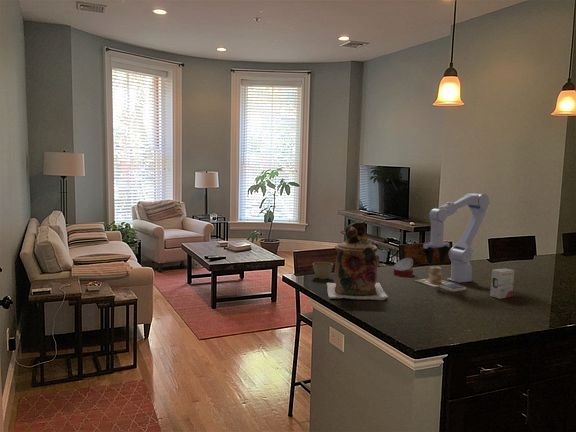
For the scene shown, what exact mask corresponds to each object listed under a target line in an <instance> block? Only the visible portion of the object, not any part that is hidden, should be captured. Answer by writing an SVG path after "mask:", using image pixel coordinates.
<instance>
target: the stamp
mask: <svg viewBox="0 0 576 432" xmlns="http://www.w3.org/2000/svg"><path fill="white" fill-rule="evenodd" d="M427 279H428V281H429V282H430V283H442V280H443V279H442V268H441V267H440V266H434V265H433V266H429V267H428V278H427Z"/></svg>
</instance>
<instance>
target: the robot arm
mask: <svg viewBox="0 0 576 432" xmlns="http://www.w3.org/2000/svg"><path fill="white" fill-rule="evenodd" d="M490 202H491V201H490V199H489V196H488V194H487V193H473V192H469V193H466V194H465V195H464V196H462V197H461V198H459V199H458V200H456V201H454V202H452V201H447V202H445V204H443V205H440V206H438V208H433V209H431V210H430V212H429V214H428V218H429V221H430V222H429V223H430V239H429V240H430V241H429V242H426V243H423V245H422V247H423V248H422V250H423V252H424V254H425V258H426V262H427V264H432V263H433V256H434V253H435V249H436V248H437V250H438V255H439V258H438V259H439V262H441V263H445V260H446V257H447V254H448V258H449V259H450V262H451V267H450V269H451V271H450V277H448V278H446V280H448V281H450V282H451V281H452V282H455V283H468V282H473V279H472V276H473V275H472V273H473V272H472V271H473V267H472V265H471V263H470V261H471V260H472V255H473V252H474V250H473V248H472V247H471V246H472V243H473V242H474V239H475V237H476V235H477V234H478V233H477V232H478V231H479V228H480V227H481V225H482V223H483V220H484V217H485V216H486V211H487V209H488V207H489V205H490ZM465 206H467V207H468V208H469V211H471V212H472V214H471V216H470V218H469V221H468V223H467V225H466V226H465V229H464V231H463V234H462V235H461V237H460V239H459V241H458V242H456V243H455V244H453V246H452V247H451V248H450V242H445V241H444V229H445V221H446V220H447V218H448V217H451V216H452V215H454V214H456V213H457V211H458V210H459V209H461V208H463V207H465Z"/></svg>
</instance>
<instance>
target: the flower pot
mask: <svg viewBox="0 0 576 432" xmlns="http://www.w3.org/2000/svg"><path fill="white" fill-rule="evenodd" d="M333 267H334V263H333V262H328V261H326V262H325V261H316V262H312V269H313V272H314V274H315V276H316V278H317V279H318V278H319V279H318V280H326V279H328V278H329V277H330V275H331V273H332V271H333Z"/></svg>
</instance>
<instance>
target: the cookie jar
mask: <svg viewBox="0 0 576 432" xmlns="http://www.w3.org/2000/svg"><path fill="white" fill-rule="evenodd" d="M366 221H367V220H366V219H364V220H363V221H357V222H353V223H350V224H348V225H347V226H346V227H345V236H346V239H345V240H344V241H343V242H340V243H337V244H335V245H334V249H335V251H336V257H335V258H336V259H335V264H334V265H335V266H334V271H333V274H334V281H335V282H326V286H327V290H326V291H327V297H328V298H329V299H331V300H332V299H336V300H337V299H350V300H365V301H367V300H368V301H384V300H386V299H387V298H388V297H389V295H388V294H387V293H386V291H384V288H383V287H382V285H381V282H378V273H377V272H378V267H379V266H380V256H379V255H378V254H377V255H376V253H377V251H378V247H377V246H376V245H374V244H372V243H371V242H370V241H369V240H368V238H367V234H368V233H367V230H368V229H367V228H366V227H367V226H366Z"/></svg>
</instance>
